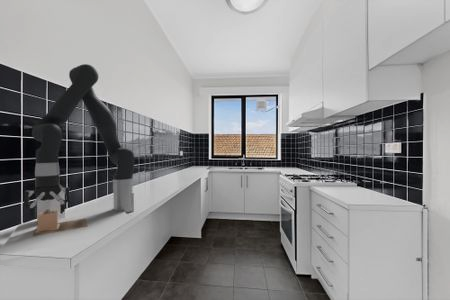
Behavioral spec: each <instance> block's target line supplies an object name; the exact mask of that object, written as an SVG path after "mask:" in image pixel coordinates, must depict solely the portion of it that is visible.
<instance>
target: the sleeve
mask: <svg viewBox="0 0 450 300" xmlns="http://www.w3.org/2000/svg"><path fill="white" fill-rule="evenodd" d="M37 222H38V223H37V224H38V225H37V226H38V231H43V230H49V229H55V228H57V226H58V223H59V220H58V210H53V211H51V213H48V214H45V212H40V213H39V215H38V221H37Z"/></svg>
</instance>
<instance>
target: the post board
mask: <svg viewBox="0 0 450 300" xmlns="http://www.w3.org/2000/svg"><path fill="white" fill-rule="evenodd" d="M48 213H51V210H50V209H47V210H46V211H45V214H48ZM86 227H88V221H87V218H80V219H76V220H75V219H74V220H68V221H61V222H58V226H57V228H55V229H49V230H43V231H38V225H37V226H36V228H35V230H34V232H33V234H32V237H35V236H39V235H40V236H41V235H46V234H51V233H58V232H64V231H69V230H76V229H81V228H86Z"/></svg>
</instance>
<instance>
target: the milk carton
mask: <svg viewBox="0 0 450 300" xmlns="http://www.w3.org/2000/svg"><path fill="white" fill-rule="evenodd" d="M60 188H65V187H64V186H62V184H60ZM58 195H59V196H60V197H61V198H62V199H63V200H65V199H66V193H63V191H61V192H60V193H59V194H58ZM60 204H61V203H60V202H59V201H57V200H56V199H53V200H45V201H43V200H40V201H39V202H38V203H37V204H36V219H37V220H36V222H38V215H39V213H40V212H45V211H46V210H47V209H50V210H51V211H53V210H58V221H59V220H61V219H64V218H66V210H65V211H64V212H63V214H61V213H60Z"/></svg>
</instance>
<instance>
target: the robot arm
mask: <svg viewBox="0 0 450 300" xmlns="http://www.w3.org/2000/svg"><path fill="white" fill-rule="evenodd" d="M68 76H69V79H70V82H71V85H70V86H69V87H68V88H67V89H66V90H65V91H64V92H63V93H62V94H61V95H60V96H59V97H58V98H57V99H56V100H55V102H54V103H53V104H52V106H51V107H50V108H49V110H48V111H47V113H46V114H45V115H44V116H42V117H41V119H39V121H37V122H36V124H35V125H34V126H33V128H32V131H31V136H32V137H33V139H34V140H36V141H37V142H41V144H40V147H39V148H37V149H36V151H35V167H34V177H35V179H34V180H35V181H34V185H35V187H34V190H25V191H24V194H23V208H29V212H30V213H29V216H30V217H32V219H33V218H37V203H38V202H39V201H40V200H43V201H45V200H53V199H56V200H57V201H59V202H60V203H61V204H60V213H61V214H63V212H64V211H65V212H66V204H67V203H69V202H70V201H71V194H70V187H69V186H66V187H64V188H60V185H61V183H60V177H61V176H60V174H61V173H60V172H61V171H60V165H59V163H60V162H59V151H60V148H61V144H62V140H63V131H62V129H61V127H60V126H61V125H63V124H66V123H67V122H68V120H69V118H70V117H71V115H72V114H73V113H74V111H75V109H76V108H77V106H78V105H79V103H80V102H81V100H82V102H83V103H84V106H85V108H86V110H87V112H88V113H89V116H90V118H91V120H92V121H93V122H92V123H93V124H94V125H95V128H96V130H97V131H98V133H99V135H100V138H101V140H102V142H103V144H104V146H105V148H106V152H107V154H108V157H109V159H110V161H111V163H112V164H114V165H115V166H117V167H116V172H114V174H113V175H112V179H113V184H112V185H113V186H112V187H113V188H112V189H113V211H115V212H124V213H127V214H128V213H131V212H134V211H135V201H134V200H135V199H134V198H135V197H134V196H135V195H134V194H135V193H134V192H133V191H134V190H133V183H134V182H133V175H134V173H135V172H134V171H135V154H134V152H133V150H132V149H130V148H126V147H124V148H123V147H122V145H121V144H120V141H119V139H118V133H117V131H118V129H117V123H116V119H115V118H114V116H113V113H112V111H111V110H110V108H109V107H108V106H107V105H106V104H105V103H104V102H103V101H101V99H100V98H99V97H98V95H97V94H96V93H95V91H94V89H93V87H94V85H95V84H97V82H98V80H99V73H98V70H97V69H96V68H95V67H94V66H93V65H90V64H88V63H87V64H80V65H77V66H75V67H73V68H72V69H70V71H69V73H68ZM61 191H63V193H65V200H63V199H62V198H61V197H60V196H59V195H58V194H59V193H60V192H61ZM33 194H34V195H35V196H36V198H35V200H34V201H33V202H32V203H31V202H30V197H31V196H32V195H33Z"/></svg>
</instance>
